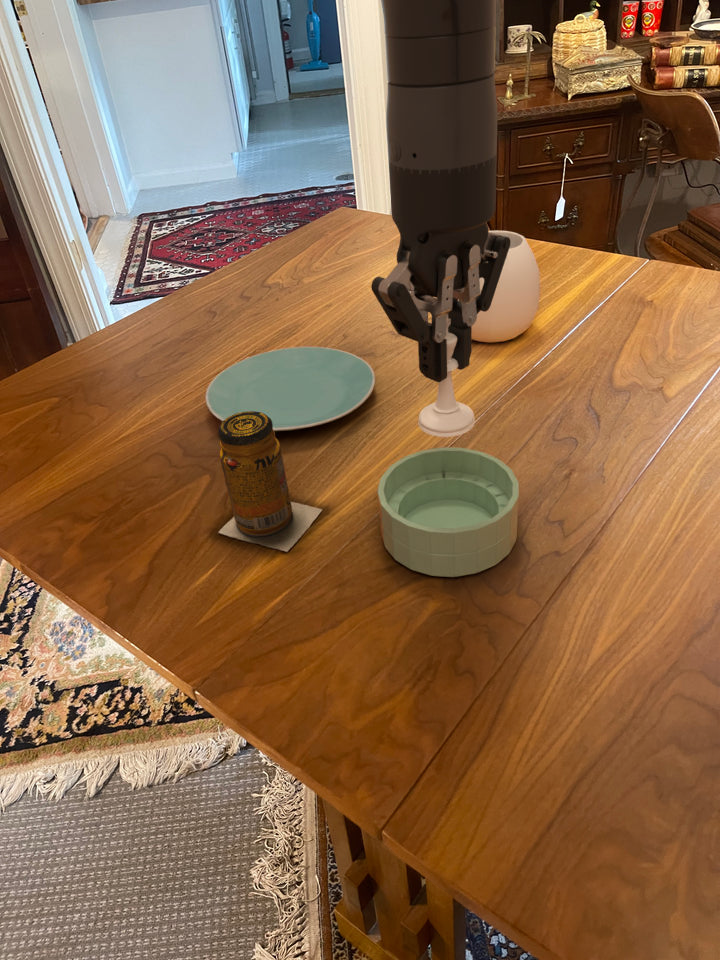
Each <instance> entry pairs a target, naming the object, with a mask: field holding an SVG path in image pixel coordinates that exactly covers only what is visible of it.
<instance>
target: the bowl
mask: <svg viewBox="0 0 720 960" xmlns="http://www.w3.org/2000/svg"><path fill="white" fill-rule="evenodd" d="M376 494H377V501H378V502H377V503H378V513H379V524H380V535H381V538H382V542H383V546H384V548H385V549H386V551H388V553H389V554H390V555H391V556H392V558H393V559H394V560H395V561H397V562H398V563H400V564H401V565H403V566H404V567H406V568H407V569H409V570H411V571H414V572H418V573H421V574H424V575H427V576H433V577H447V578H455V577H457V578H458V577H462V576H467V575H474V574H479V573H480V572H483V571H485V570H487V569H489V568H493V567H494V566H496V565H498V564H499V563H500V562H501V561H502V560H504V559H505V558H506V557H507V556H509V554H510V553H511V551H512V549H513V547H514V545H515V543H516V541H517V539H518V538H517V537H518V523H519V522H518V520H519V518H518V517H519V502H520V501H519V500H520V482H519V480H518V479H517V476H516V474H515V473H514V471H513V469H512V468H510V467H509V466H508V465H507V464H505V463H504V462H503V461H502V460H501V459H500V458H497V457H496V456H493V455H491V454H488V453H486V452H484V451H481V450H475V449H471V448H466V447H455V446H454V447H453V446H452V447H451V446H442V447H436V448H435V447H434V448H429V449H422V450H419V451H416V452H413V453H411V454H408V455H406V456H403V457H402V458H400V459H399V460H397V461H395V462H394V463H393V464H391V465H390V466H388V468H387V469H386V471H385V472H384V473H383V474H382V475H381V477H380V480H379V483H378V486H377V493H376Z"/></svg>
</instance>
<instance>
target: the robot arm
mask: <svg viewBox="0 0 720 960" xmlns="http://www.w3.org/2000/svg"><path fill="white" fill-rule="evenodd" d="M380 3H381V7H382V15H383V25H384V39H385V57H386V58H385V59H386V77H387V98H386V99H387V101H386V114H385V117H386V118H385V125H386V126H385V127H386V142H387V158H388V175H389V193H390V208H391V210H390V211H391V219H392V221H393V223H394V225H395V226H396V228H397V229H398V232H399V237H400V238H399V245H398V247H397V251H396V263H397V264H396V265H395V266H394V268H393V269H392V270H391V271H390V272H389V274H388V275H387V276H386V277H381V276H375V277H374V279H373V280H372V282H371V287H370V288H371V291H372V293H373V294H374V297H375V298H376V300H377V301H378V303H379V305H380V306H381V308H382V310H383V311H384V313H385V315H386V316H387V319H388V320H389V321H390V323H391V325H392V327H393V328H394V330H395V332H396V333H397V335H400V336H402V337H404V338H407V339H410V340H413V341H415V342H417V345H418V346H417V347H418V348H417V349H418V370H419V373H420V374H421V375H423V377H425V378H426V379H428V380H431V381H433V382H436V383H439V382H441V381H443V380H445V379H446V378H447V339H444V338H445V335H446V321H447V315H448V319H451V324H450V325H449V327H448V333H452V334H454V335H455V336H456V337H457V343H456V346H455V348H454V351H453V355H452V357H451V358H453V359H455V360H456V361H457V363H458V367H457V368H456V370H460V371H463V370H464V369H466V368H467V367H469V366H470V359H471V356H472V339H471V334H472V325H474V323H475V322H476V319H477V314H478V313H479V312H480V311H484V312H486V311H487V310H488V309H489V308H490V306H491V303H492V300H493V296H494V293H495V290H496V287H497V284H498V281H499V278H500V275H501V272H502V269H503V266H504V263H505V260H506V257H507V254H508V250H509V247H510V238H509V237H505V236H501V235H498V234H494V233H489V232H488V231H489V226H488V222H489V221H491V220H492V219H493V217H494V215H495V213H496V204H497V166H498V165H497V164H498V163H497V159H498V158H497V157H498V101H497V100H498V99H497V93H496V92H497V91H496V74H495V72H496V32H497V31H496V30H497V29H496V23H497V0H380ZM480 278H484V284H483V287H482V290H481V294H480V282H479V279H480ZM458 300H459V301H458ZM429 314H430V315H431V322H429Z"/></svg>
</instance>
